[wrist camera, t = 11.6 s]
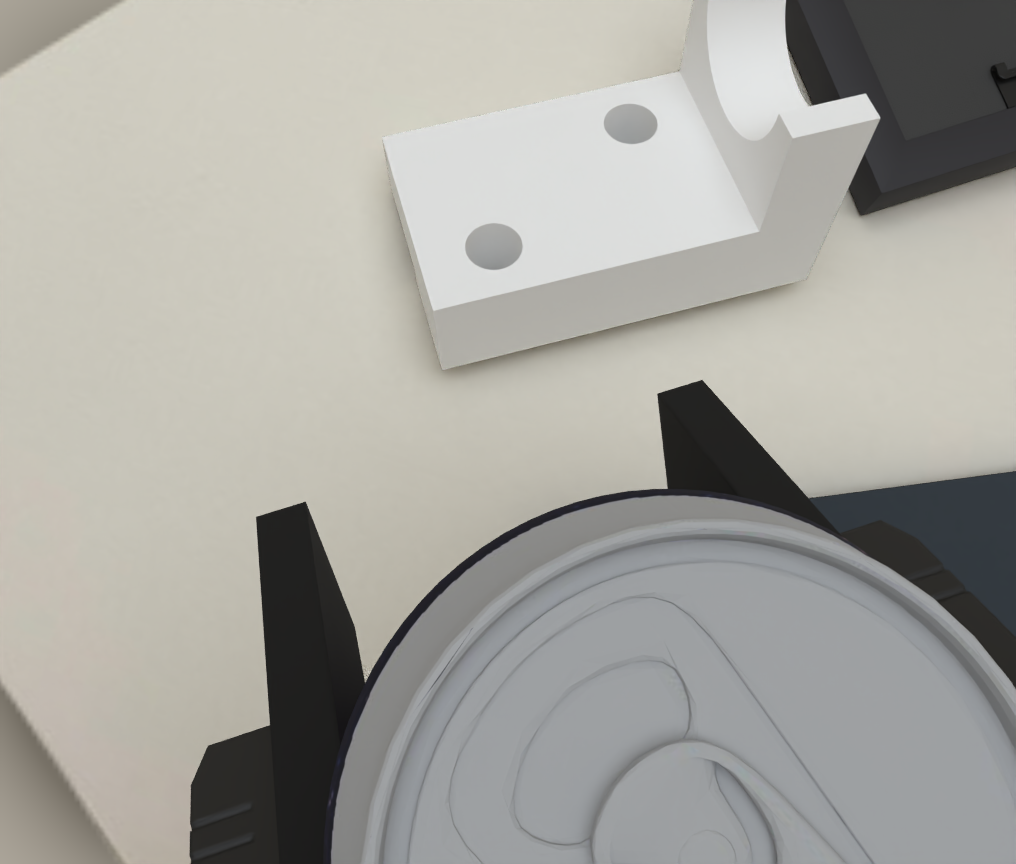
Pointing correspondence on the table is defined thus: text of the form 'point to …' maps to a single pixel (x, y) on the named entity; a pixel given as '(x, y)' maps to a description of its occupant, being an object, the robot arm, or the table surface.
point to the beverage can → (677, 703)
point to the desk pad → (949, 529)
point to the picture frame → (915, 87)
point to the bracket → (626, 193)
